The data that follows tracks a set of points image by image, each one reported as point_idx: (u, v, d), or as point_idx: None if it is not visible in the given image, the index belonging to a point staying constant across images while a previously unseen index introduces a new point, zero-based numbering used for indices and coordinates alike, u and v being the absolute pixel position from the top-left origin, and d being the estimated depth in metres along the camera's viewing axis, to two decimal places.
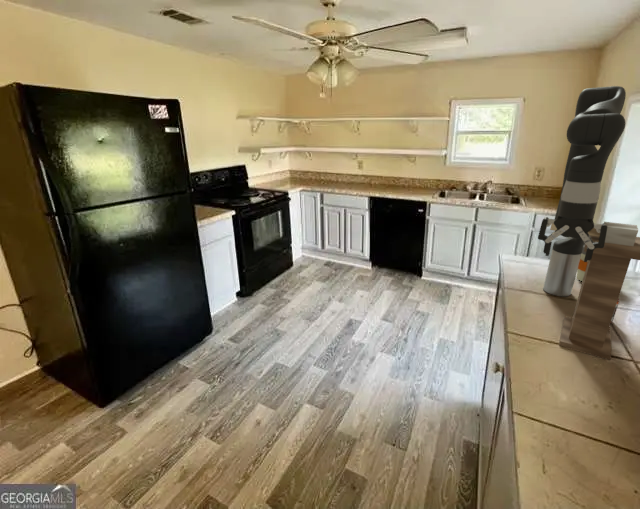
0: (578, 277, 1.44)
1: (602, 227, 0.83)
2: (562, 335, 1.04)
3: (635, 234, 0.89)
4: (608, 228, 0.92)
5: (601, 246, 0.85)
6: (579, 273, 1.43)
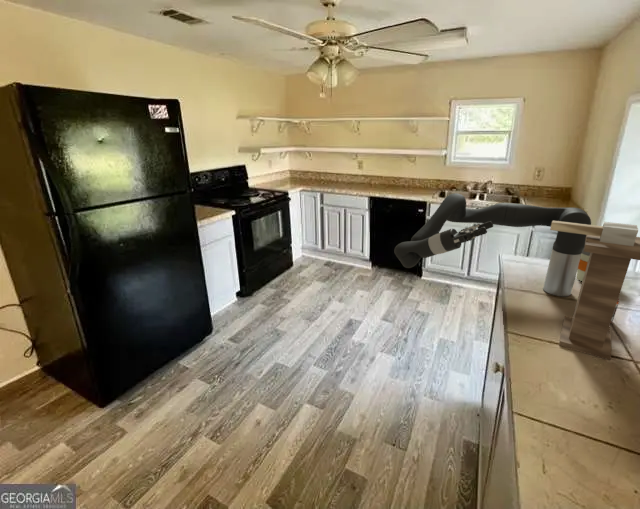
0: (578, 277, 1.44)
1: None
2: (562, 335, 1.04)
3: (635, 234, 0.89)
4: (608, 228, 0.92)
5: (470, 240, 1.11)
6: (579, 273, 1.43)
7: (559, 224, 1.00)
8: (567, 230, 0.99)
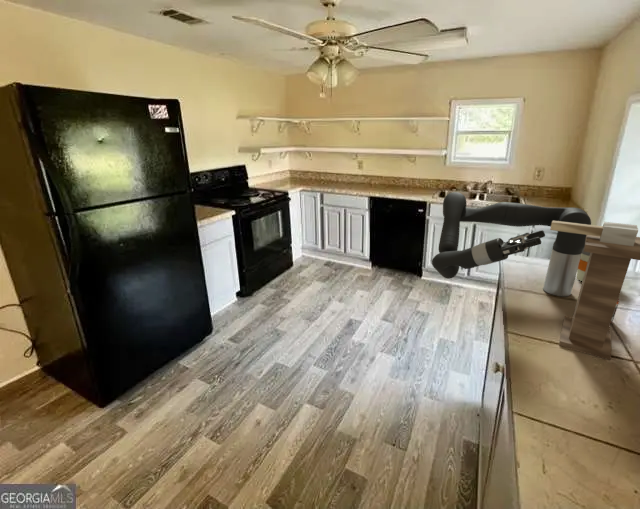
0: (578, 277, 1.44)
1: None
2: (562, 335, 1.04)
3: (635, 234, 0.89)
4: (608, 228, 0.92)
5: None
6: (579, 273, 1.43)
7: (559, 224, 1.00)
8: (567, 230, 0.99)
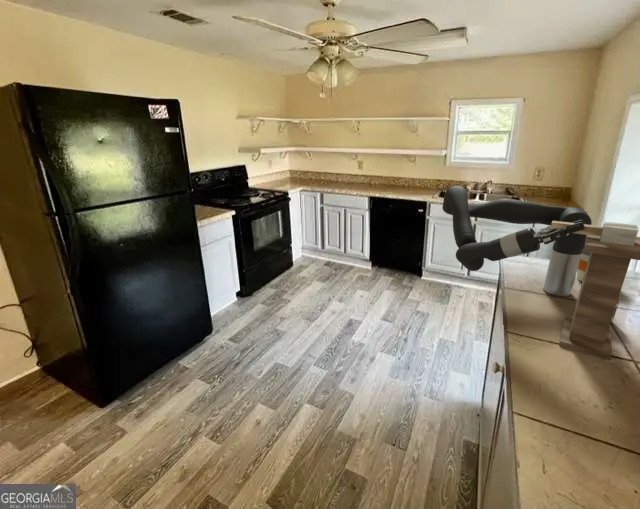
0: (578, 277, 1.44)
1: None
2: (562, 335, 1.04)
3: (635, 234, 0.89)
4: (608, 228, 0.92)
5: (564, 237, 0.98)
6: (579, 273, 1.43)
7: (559, 224, 1.00)
8: None
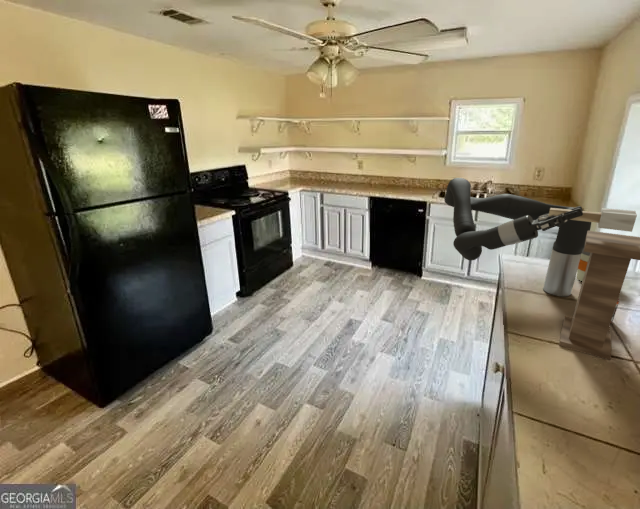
0: (578, 277, 1.44)
1: None
2: (562, 335, 1.04)
3: (634, 219, 0.88)
4: (606, 214, 0.91)
5: (562, 223, 0.97)
6: (579, 273, 1.43)
7: (557, 211, 0.99)
8: None
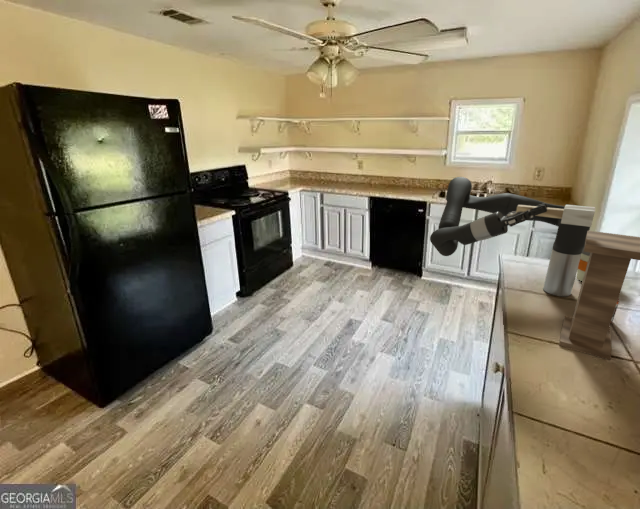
0: (578, 277, 1.44)
1: None
2: (562, 335, 1.04)
3: (592, 215, 0.93)
4: (568, 210, 0.96)
5: (528, 219, 1.02)
6: (579, 273, 1.43)
7: (524, 208, 1.04)
8: None
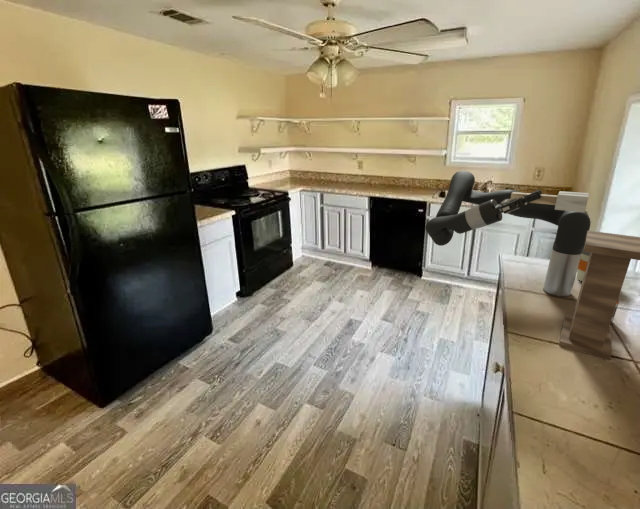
0: (578, 277, 1.44)
1: None
2: (562, 335, 1.04)
3: (586, 200, 0.93)
4: (561, 196, 0.96)
5: (522, 206, 1.02)
6: (579, 273, 1.43)
7: (518, 195, 1.04)
8: None
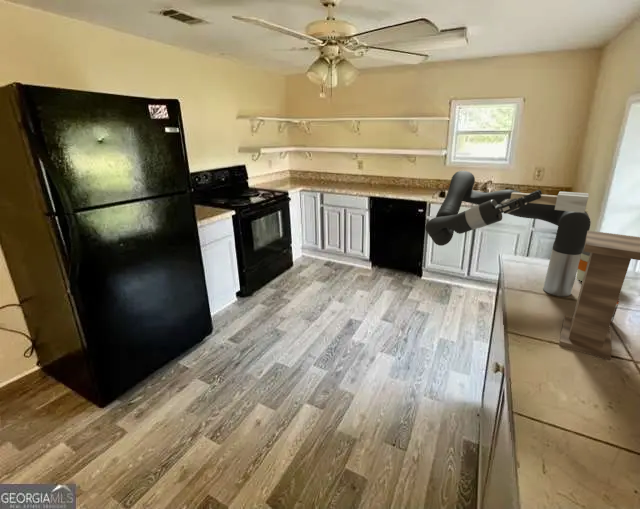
0: (578, 277, 1.44)
1: None
2: (562, 335, 1.04)
3: (585, 201, 0.93)
4: (561, 196, 0.96)
5: (522, 206, 1.02)
6: (579, 273, 1.43)
7: (518, 195, 1.04)
8: None
